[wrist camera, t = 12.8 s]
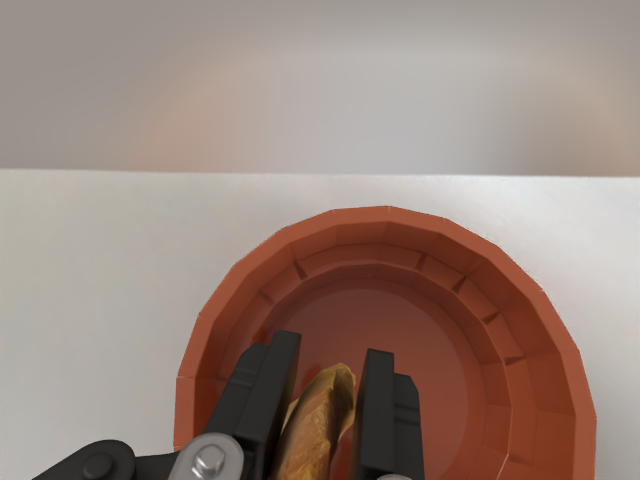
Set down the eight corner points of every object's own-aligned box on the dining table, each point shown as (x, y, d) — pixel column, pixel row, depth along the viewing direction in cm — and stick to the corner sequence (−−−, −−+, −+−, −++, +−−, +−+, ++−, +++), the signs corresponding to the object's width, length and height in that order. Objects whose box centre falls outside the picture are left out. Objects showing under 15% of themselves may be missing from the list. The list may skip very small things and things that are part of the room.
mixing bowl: (485, 242, 26) (538, 194, 19) (550, 558, 20) (657, 646, 14) (221, 260, 26) (183, 219, 19) (217, 580, 20) (161, 678, 14)
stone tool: (296, 473, 20) (226, 690, 6) (260, 441, 20) (115, 568, 6) (357, 386, 21) (422, 390, 7) (322, 358, 22) (316, 309, 8)
